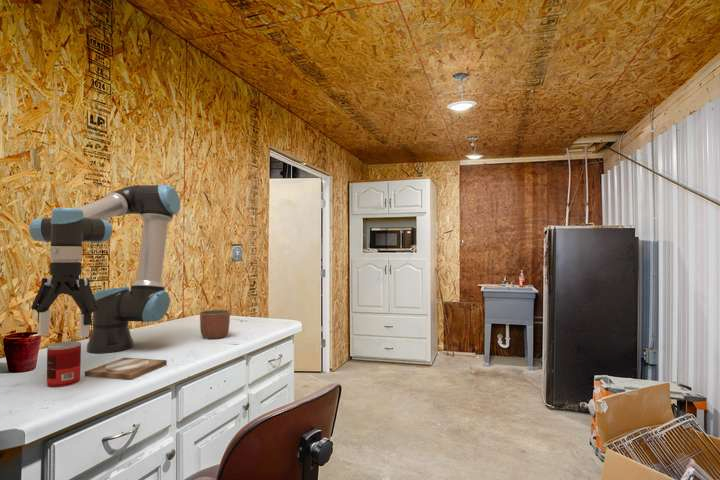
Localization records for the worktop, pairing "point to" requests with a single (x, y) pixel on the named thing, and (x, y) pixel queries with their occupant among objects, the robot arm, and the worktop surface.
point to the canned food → (63, 363)
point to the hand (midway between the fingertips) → (63, 335)
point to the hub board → (126, 368)
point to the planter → (214, 323)
